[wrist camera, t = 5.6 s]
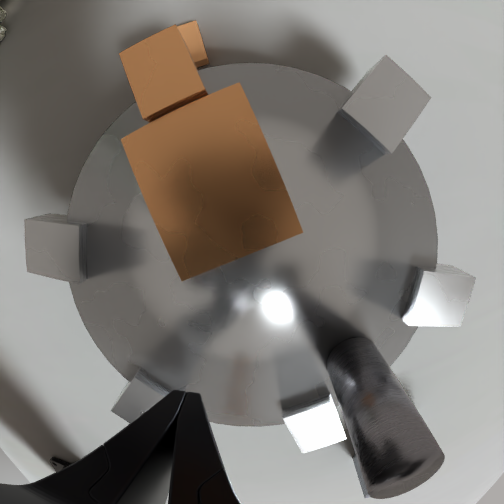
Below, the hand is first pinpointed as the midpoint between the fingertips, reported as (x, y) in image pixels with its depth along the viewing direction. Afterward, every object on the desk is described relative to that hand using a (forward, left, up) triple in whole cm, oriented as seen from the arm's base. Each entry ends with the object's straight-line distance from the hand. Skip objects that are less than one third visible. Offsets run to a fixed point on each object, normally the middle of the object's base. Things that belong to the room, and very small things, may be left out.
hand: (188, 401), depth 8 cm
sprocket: (+4, -2, -3) cm, 5 cm away
